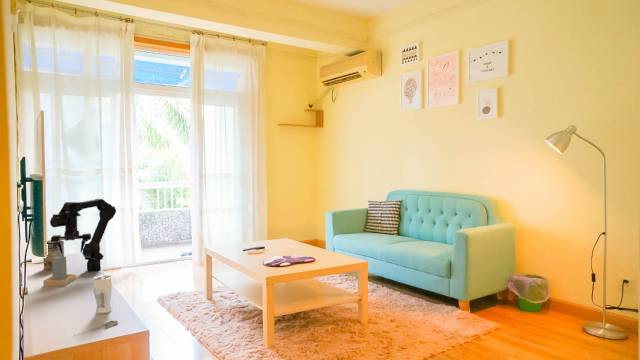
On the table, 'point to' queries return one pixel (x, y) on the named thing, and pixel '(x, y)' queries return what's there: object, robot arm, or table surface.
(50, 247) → the coffee box
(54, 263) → the slate block
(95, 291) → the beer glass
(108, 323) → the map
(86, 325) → the table surface
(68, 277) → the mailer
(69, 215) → the robot arm
